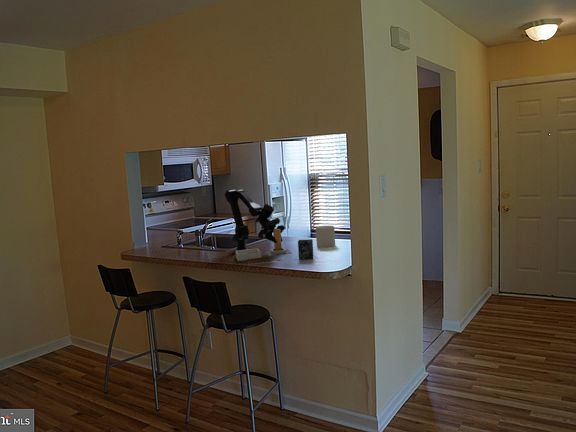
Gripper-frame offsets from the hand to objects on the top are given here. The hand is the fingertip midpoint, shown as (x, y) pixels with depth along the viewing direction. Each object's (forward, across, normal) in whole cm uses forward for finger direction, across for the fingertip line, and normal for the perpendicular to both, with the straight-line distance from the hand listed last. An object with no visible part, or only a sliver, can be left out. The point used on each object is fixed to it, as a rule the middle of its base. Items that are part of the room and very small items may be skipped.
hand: (279, 242), depth 305 cm
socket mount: (+4, 0, +6) cm, 8 cm away
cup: (+12, +32, -1) cm, 34 cm away
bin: (-2, -16, +13) cm, 21 cm away
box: (+21, -1, -10) cm, 24 cm away
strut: (+4, 0, +6) cm, 7 cm away
